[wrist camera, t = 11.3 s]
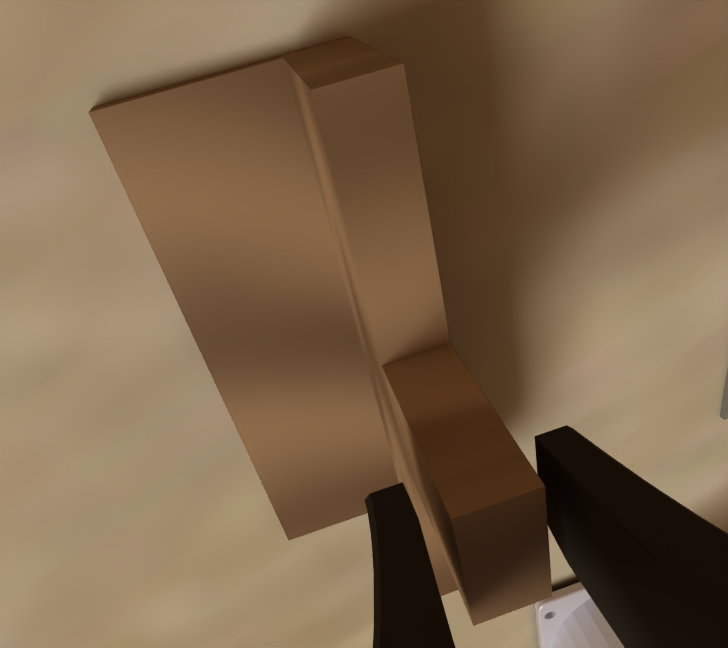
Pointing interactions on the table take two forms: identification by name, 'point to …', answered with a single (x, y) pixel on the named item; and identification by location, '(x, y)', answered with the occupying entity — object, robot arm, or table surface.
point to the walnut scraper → (330, 305)
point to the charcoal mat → (725, 402)
